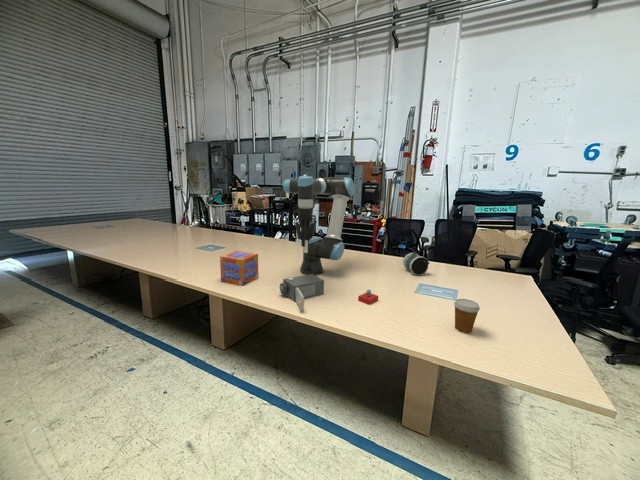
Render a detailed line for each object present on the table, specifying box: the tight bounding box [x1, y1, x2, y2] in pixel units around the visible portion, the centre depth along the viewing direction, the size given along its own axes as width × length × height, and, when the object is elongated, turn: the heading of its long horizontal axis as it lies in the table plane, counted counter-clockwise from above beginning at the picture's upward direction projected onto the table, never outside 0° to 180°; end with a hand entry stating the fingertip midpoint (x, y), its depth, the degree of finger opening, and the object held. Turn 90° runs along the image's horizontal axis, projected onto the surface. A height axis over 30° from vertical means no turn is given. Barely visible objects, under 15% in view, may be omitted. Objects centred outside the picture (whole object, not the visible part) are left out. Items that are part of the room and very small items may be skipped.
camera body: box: [279, 274, 325, 302], centre depth 148 cm, size 21×12×9 cm, turn 124°
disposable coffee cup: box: [453, 298, 481, 334], centre depth 116 cm, size 10×10×12 cm
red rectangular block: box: [357, 289, 379, 306], centre depth 143 cm, size 8×7×6 cm
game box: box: [219, 250, 259, 287], centre depth 166 cm, size 16×16×16 cm
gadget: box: [402, 251, 430, 276], centre depth 190 cm, size 14×13×15 cm
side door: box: [294, 287, 305, 312], centre depth 133 cm, size 13×2×7 cm, turn 18°
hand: (305, 252), depth 147 cm, fingers closed
